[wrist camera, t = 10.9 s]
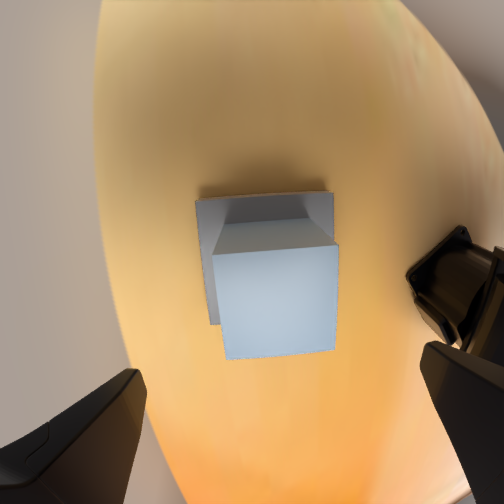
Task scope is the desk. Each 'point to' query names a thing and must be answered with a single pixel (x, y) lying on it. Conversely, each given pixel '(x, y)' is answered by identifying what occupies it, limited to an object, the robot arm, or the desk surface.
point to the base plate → (254, 210)
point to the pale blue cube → (276, 288)
